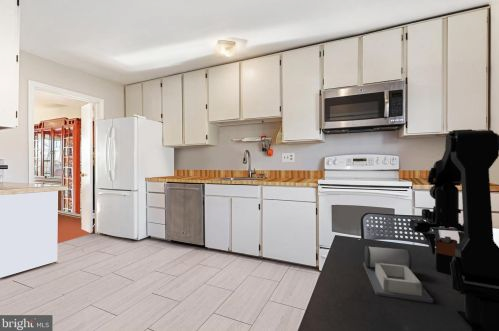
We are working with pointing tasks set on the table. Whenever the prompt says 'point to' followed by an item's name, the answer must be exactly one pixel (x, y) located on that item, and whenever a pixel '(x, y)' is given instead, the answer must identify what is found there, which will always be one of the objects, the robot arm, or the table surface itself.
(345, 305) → the table surface
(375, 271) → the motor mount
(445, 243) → the battery
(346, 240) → the table surface
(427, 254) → the table surface
